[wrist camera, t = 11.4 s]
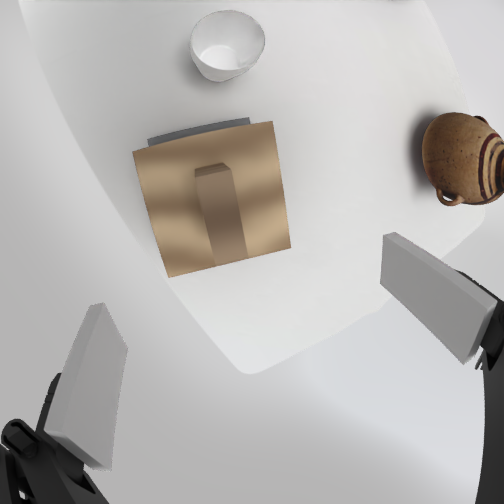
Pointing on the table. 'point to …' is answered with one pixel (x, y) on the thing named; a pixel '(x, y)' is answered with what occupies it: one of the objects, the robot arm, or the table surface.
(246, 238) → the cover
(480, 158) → the vase
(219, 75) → the cup
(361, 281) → the table surface
